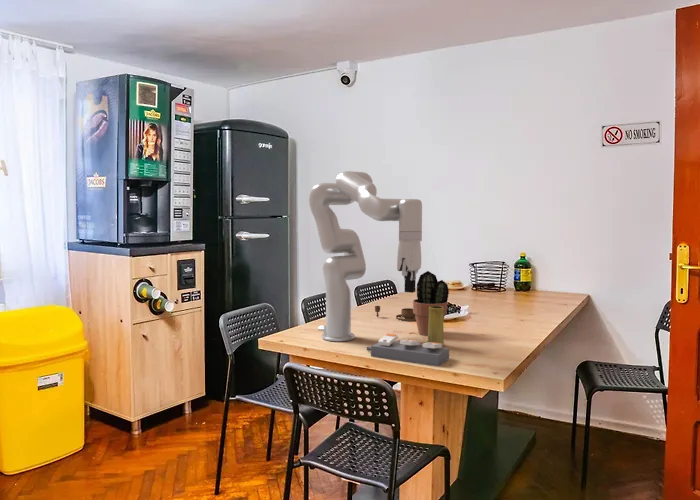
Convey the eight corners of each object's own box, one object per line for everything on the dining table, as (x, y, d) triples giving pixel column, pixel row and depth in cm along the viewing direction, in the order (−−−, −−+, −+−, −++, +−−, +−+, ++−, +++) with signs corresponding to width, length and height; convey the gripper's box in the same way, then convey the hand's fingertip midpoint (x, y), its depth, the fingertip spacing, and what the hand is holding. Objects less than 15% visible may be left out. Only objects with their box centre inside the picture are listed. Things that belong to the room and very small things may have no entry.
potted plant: (420, 338, 207) (421, 273, 205) (407, 331, 220) (407, 270, 218) (453, 336, 210) (453, 272, 208) (438, 329, 223) (438, 268, 222)
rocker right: (422, 346, 174) (422, 342, 174) (430, 345, 180) (430, 341, 180) (434, 348, 172) (434, 344, 172) (441, 347, 178) (441, 343, 178)
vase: (442, 343, 199) (442, 305, 198) (445, 347, 193) (446, 308, 192) (425, 343, 199) (426, 305, 198) (428, 348, 193) (429, 308, 192)
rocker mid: (399, 343, 178) (400, 339, 178) (408, 343, 184) (408, 339, 184) (410, 345, 176) (411, 341, 176) (419, 344, 182) (419, 340, 182)
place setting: (408, 325, 234) (408, 311, 233) (372, 319, 247) (372, 306, 247) (430, 318, 247) (430, 306, 246) (395, 313, 260) (395, 301, 260)
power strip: (360, 354, 184) (360, 343, 184) (373, 348, 193) (373, 337, 192) (438, 366, 170) (438, 353, 170) (449, 358, 179) (449, 346, 178)
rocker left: (378, 344, 182) (378, 340, 182) (387, 336, 188) (387, 333, 188) (389, 345, 180) (388, 342, 180) (397, 338, 186) (397, 334, 186)
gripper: (408, 235, 186) (408, 288, 187) (390, 237, 173) (389, 294, 174) (429, 236, 182) (429, 289, 183) (411, 238, 169) (411, 296, 170)
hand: (410, 291), depth 179 cm, fingers closed
